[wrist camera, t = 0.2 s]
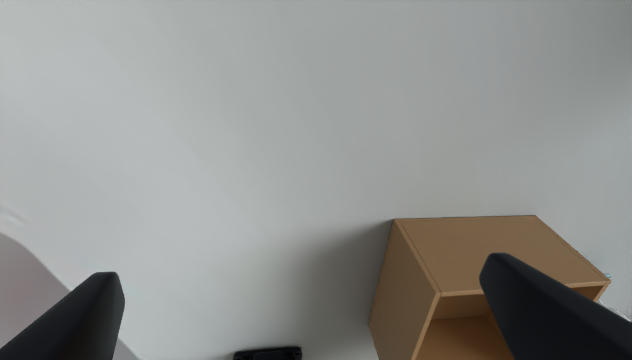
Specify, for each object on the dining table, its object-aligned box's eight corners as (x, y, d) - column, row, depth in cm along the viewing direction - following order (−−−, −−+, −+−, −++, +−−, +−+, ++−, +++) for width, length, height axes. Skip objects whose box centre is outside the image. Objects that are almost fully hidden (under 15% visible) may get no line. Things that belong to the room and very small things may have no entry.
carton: (485, 314, 36) (534, 387, 29) (367, 324, 34) (393, 404, 27) (535, 215, 29) (612, 281, 23) (393, 218, 27) (435, 293, 21)
